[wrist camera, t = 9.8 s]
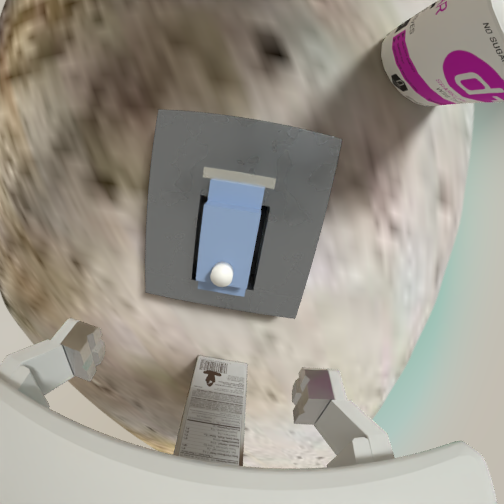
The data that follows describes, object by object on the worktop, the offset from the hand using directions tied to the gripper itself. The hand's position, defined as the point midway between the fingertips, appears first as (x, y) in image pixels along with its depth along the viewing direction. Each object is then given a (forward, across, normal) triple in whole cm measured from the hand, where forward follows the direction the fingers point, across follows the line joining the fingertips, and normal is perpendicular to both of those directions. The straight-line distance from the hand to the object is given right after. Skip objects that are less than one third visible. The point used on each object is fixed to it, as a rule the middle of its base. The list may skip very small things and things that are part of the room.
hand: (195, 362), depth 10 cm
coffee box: (+16, -1, +21) cm, 26 cm away
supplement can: (+17, -14, -19) cm, 29 cm away
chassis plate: (+16, 0, -1) cm, 16 cm away
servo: (+16, 0, 0) cm, 16 cm away
